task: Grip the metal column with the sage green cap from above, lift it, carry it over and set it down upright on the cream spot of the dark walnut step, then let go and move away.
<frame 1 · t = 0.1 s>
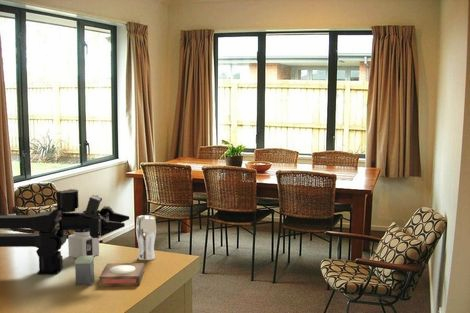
hand: (127, 221, 163), 17 cm above the table, tool horizontal, fingers open, 9 cm apart
beer glass: (146, 258, 177), on the table
walnut step: (122, 278, 157), on the table
container: (84, 256, 180), on the table
metal column: (85, 282, 153), on the table
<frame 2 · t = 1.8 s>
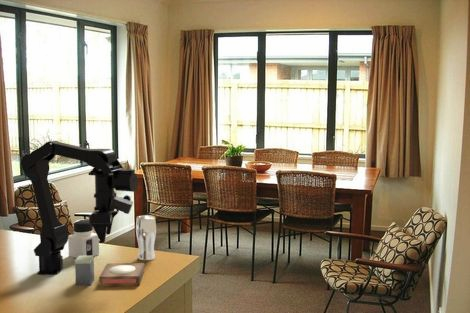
hand: (105, 238, 156), 13 cm above the table, tool pointing down, fingers open, 9 cm apart
nothing on the table moved.
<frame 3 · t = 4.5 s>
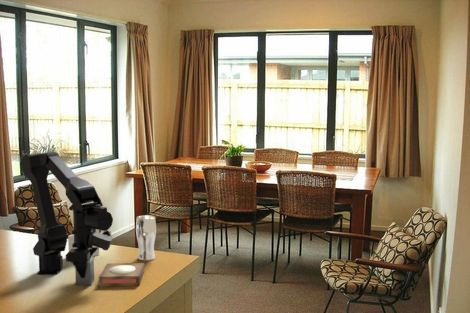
hand: (84, 274, 153), 3 cm above the table, tool pointing down, fingers closed on metal column, 4 cm apart
metal column: (85, 282, 153), on the table, touching gripper
everything else where it was.
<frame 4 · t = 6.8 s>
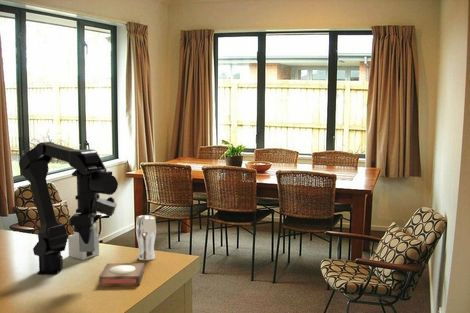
hand: (88, 241, 152), 13 cm above the table, tool pointing down, fingers closed on metal column, 4 cm apart
metal column: (88, 249, 152), point 11 cm above the table, touching gripper
everything else where it was.
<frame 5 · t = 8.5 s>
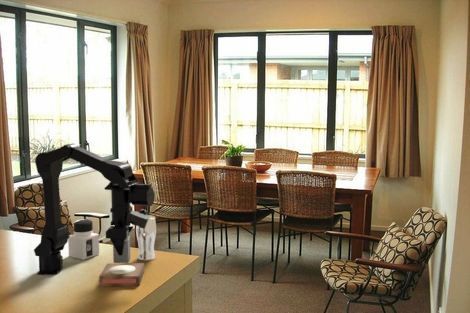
hand: (121, 252, 156), 8 cm above the table, tool pointing down, fingers closed on metal column, 4 cm apart
metal column: (122, 260, 156), point 6 cm above the table, touching gripper
everything else where it was.
when the fingers open (6 cm above the table, at t = 9.6 s): metal column stays where it is, resting on walnut step.
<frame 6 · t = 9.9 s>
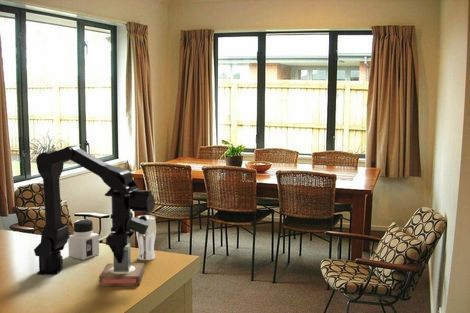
hand: (122, 258, 156), 6 cm above the table, tool pointing down, fingers open, 7 cm apart
metal column: (122, 269, 156), point 3 cm above the table, touching walnut step
everything else where it was.
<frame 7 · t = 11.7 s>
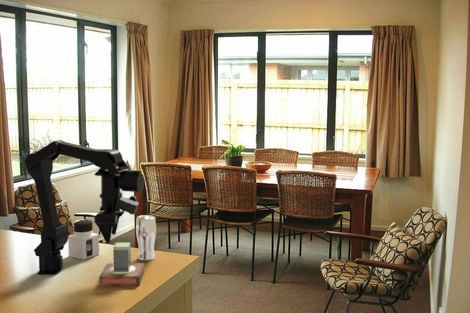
hand: (111, 238, 157), 13 cm above the table, tool pointing down, fingers open, 9 cm apart
nothing on the table moved.
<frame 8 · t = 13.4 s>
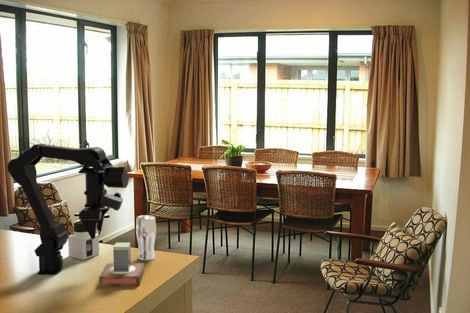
hand: (96, 234, 160), 13 cm above the table, tool pointing down, fingers open, 9 cm apart
nothing on the table moved.
at the end: metal column inside the target area on the walnut step (0.0 cm from its centre), point 3.1 cm above the walnut step's base; metal column tilted 0°; the gripper is holding nothing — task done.
